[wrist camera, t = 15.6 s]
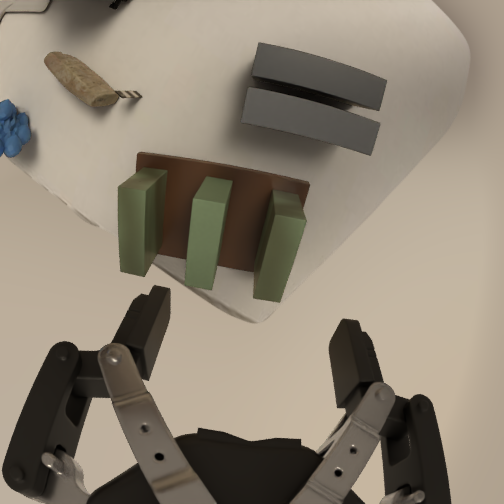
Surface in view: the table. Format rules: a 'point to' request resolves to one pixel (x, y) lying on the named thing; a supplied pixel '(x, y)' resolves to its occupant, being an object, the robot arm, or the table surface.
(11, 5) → the grey rectangular panel
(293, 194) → the book rack
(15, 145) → the grapes
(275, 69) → the grey grooved block
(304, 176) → the table surface
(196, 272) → the green book
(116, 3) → the camera
